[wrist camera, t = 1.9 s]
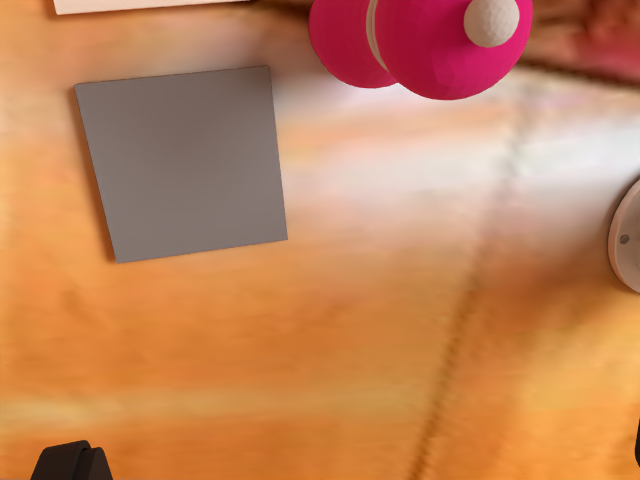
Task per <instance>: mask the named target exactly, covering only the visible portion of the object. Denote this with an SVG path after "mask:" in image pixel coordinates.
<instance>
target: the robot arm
mask: <svg viewBox="0 0 640 480" xmlns="http://www.w3.org/2000/svg"><path fill="white" fill-rule="evenodd" d="M608 254H609V259H610V263H611V266H612V268H613V270H614V272H615V274H616V275H617V276H618V278H619V279H620V280H621V281H622V282H623V283H624V284H626V285H627V286H629V287H630V288H631V289H633V290H635V291H637V292H638V293H640V179H639V180H638V181H637V182H636V183H635V184H634V185H633V186H632V187H631V189H630V190H629V191H628V193H627V194H626V195H625V197H624V198H623V199H622V201H621V203H620V205H619V207H618V209H617V211H616V212H615V215H614V218H613V221H612V223H611V226H610V232H609V237H608ZM635 457H636V461H637V463H638V465H639V467H640V420H639V426H638V432H637V439H636V445H635ZM30 480H113V478H112V475H111V472H110V469H109V466H108V462H107V459H106V456H105V453H104V451H103V449H102V448H101V447H97V448H92V449H91V446H90V444H89V443H88V442H87V441H86V440H81V441H76V442H71V443H67V444H62V445H57V446H52V447H47V448H45V449H44V450H43V451H42V453H41V455H40V457H39V460H38V462H37V464H36V467H35V469H34V472H33V474H32V477H31V479H30Z"/></svg>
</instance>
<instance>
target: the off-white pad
mask: <svg viewBox="0 0 640 480" xmlns="http://www.w3.org/2000/svg"><path fill="white" fill-rule="evenodd" d="M235 1H248V0H54V5H55V9H56V13H57V14H59V15H65V14H78V13H91V12H104V11H117V10H130V9H144V8H157V7H170V6H183V5H196V4H209V3H222V2H235Z"/></svg>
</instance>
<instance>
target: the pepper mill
mask: <svg viewBox="0 0 640 480" xmlns="http://www.w3.org/2000/svg"><path fill="white" fill-rule="evenodd" d="M532 11H533V4H532V0H314V2H313V4H312V7H311V10H310V14H309V22H308V29H309V36H310V40H311V43H312V46H313V48H314V50H315V52H316V54H317V55H318V57H319V58H320V60H321V62H322V63H323V64H324V66H325V67H326V68H327V69H328V71H329V72H330V73H332V74H333V75H334V76H335V77H336V78H338V79H339V80H341V81H343V82H345V83H347V84H349V85H352V86H355V87H359V88H381V87H387V86H390V85H393V84H395V83H400V84H401V85H403V86H404V87H406V88H407V89H409V90H410V91H412V92H414V93H416V94H418V95H420V96H423V97H426V98H430V99H436V100H457V99H463V98H467V97H470V96H473V95H476V94H479V93H481V92H482V91H484V90H486V89H488V88H490V87H492V86H493V85H494V84H496V83H497V82H498V81H499V80H500V79H502V78H503V77H504V76H505V75H506V74H507V73H508V72H509V71H510V70H511V68H512V67H513V66H514V65H515V64H516V62H517V61H518V59H519V57H520V56H521V54H522V52H523V50H524V48H525V46H526V43H527V40H528V38H529V35H530V30H531V25H532Z"/></svg>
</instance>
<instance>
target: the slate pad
mask: <svg viewBox="0 0 640 480" xmlns="http://www.w3.org/2000/svg"><path fill="white" fill-rule="evenodd" d="M74 88H75V92H76V96H77V100H78V104H79V108H80V113H81V117H82V121H83V125H84V129H85V133H86V138H87V142H88V146H89V150H90V154H91V158H92V163H93V167H94V171H95V175H96V179H97V183H98V187H99V192H100V196H101V200H102V204H103V208H104V212H105V217H106V221H107V225H108V229H109V233H110V237H111V241H112V246H113V250H114V254H115V258H116V262H117V264H118V263H125V262H132V261H139V260H146V259H153V258H160V257H168V256H175V255H182V254H189V253H196V252H203V251H210V250H218V249H225V248H232V247H239V246H246V245H253V244H260V243H268V242H275V241H282V240H288V236H287V227H286V218H285V209H284V199H283V190H282V181H281V172H280V162H279V153H278V144H277V135H276V125H275V116H274V107H273V98H272V88H271V79H270V70H269V66H260V67H250V68H239V69H228V70H218V71H207V72H196V73H186V74H175V75H165V76H154V77H143V78H133V79H122V80H111V81H101V82H90V83H80V84H75V85H74Z"/></svg>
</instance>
